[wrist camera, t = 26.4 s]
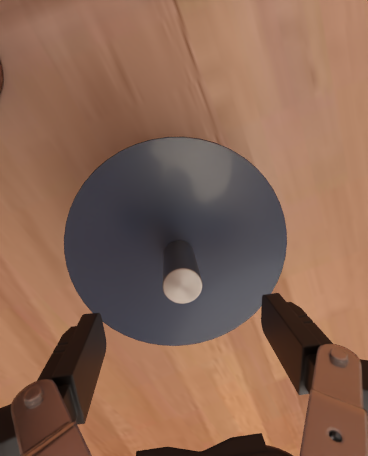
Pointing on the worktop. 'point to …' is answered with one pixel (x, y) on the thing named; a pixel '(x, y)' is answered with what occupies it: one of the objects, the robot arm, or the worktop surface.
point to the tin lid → (175, 241)
